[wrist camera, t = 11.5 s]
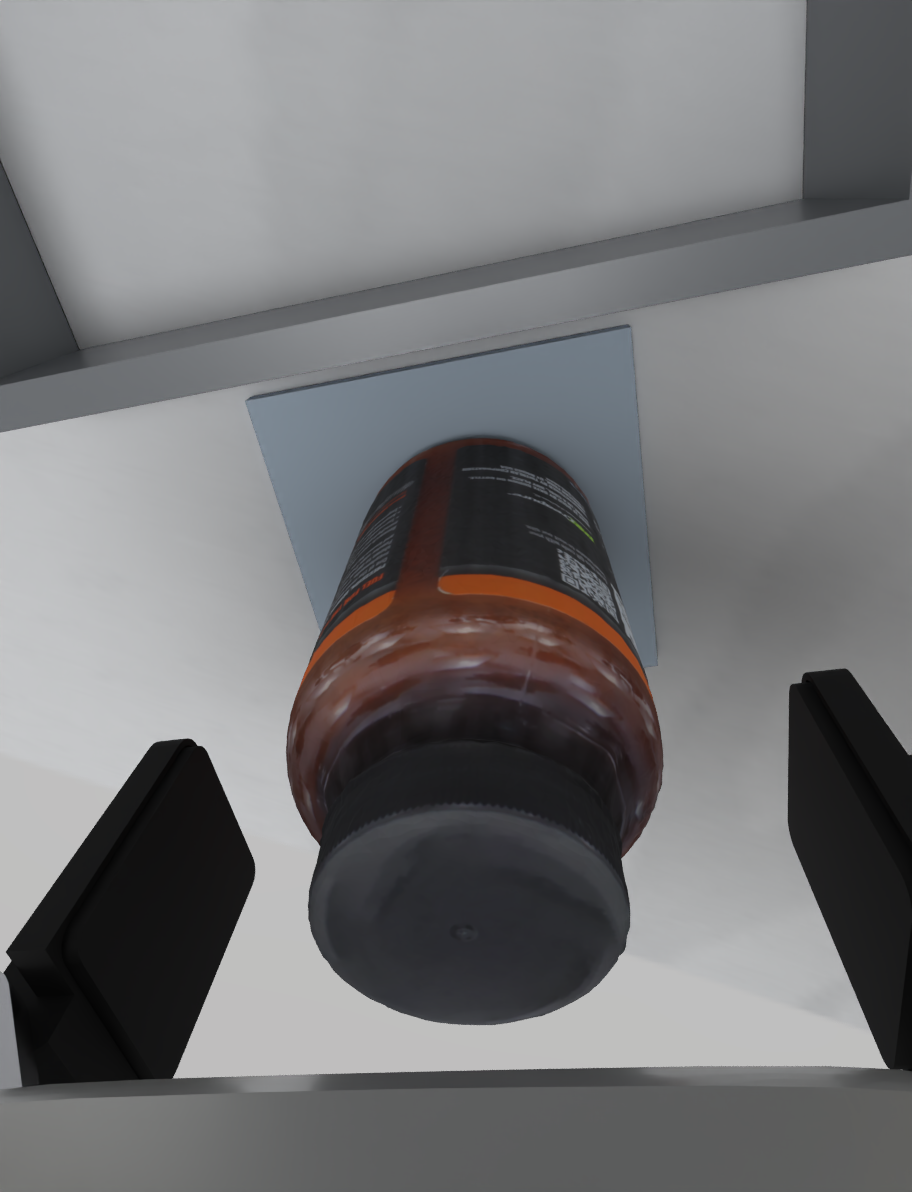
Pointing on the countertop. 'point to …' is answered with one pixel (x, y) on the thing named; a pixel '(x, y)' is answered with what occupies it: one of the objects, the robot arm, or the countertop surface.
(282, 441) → the mat
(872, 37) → the case
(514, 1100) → the robot arm
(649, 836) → the countertop surface
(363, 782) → the supplement bottle
